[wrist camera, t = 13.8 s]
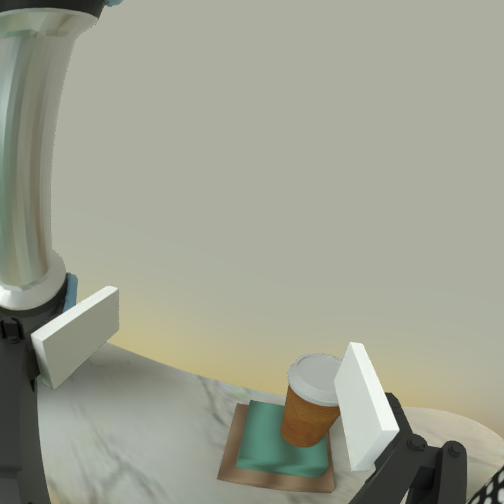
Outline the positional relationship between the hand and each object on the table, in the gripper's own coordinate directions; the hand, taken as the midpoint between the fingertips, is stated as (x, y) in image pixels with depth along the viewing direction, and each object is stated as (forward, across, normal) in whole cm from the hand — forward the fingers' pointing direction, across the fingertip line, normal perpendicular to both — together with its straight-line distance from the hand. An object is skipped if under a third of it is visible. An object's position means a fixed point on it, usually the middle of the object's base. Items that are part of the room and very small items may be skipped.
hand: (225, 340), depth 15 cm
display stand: (+15, +10, -28) cm, 34 cm away
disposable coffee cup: (+16, +12, -24) cm, 31 cm away
